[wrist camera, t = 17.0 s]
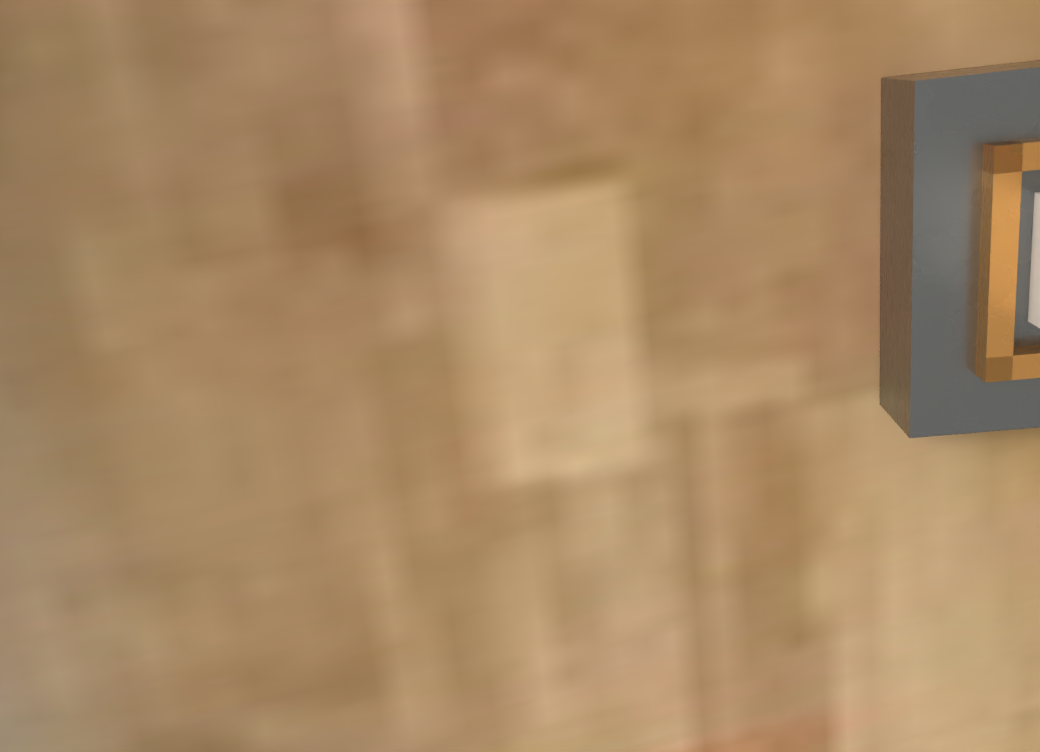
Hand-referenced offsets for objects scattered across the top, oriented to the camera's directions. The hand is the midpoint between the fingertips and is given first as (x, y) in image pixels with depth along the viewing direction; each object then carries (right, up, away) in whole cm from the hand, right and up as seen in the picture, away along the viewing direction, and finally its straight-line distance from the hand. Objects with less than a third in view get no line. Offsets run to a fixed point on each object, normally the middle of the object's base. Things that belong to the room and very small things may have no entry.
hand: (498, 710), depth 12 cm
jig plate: (+22, +10, +29) cm, 38 cm away
